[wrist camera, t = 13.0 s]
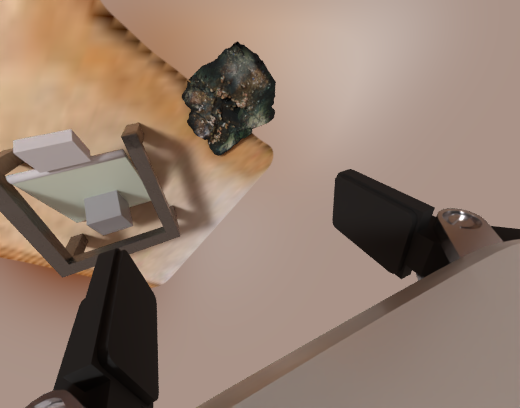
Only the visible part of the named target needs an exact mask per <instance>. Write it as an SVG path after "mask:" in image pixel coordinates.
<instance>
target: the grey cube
mask: <svg viewBox="0 0 520 408" xmlns="http://www.w3.org/2000/svg"><path fill="white" fill-rule="evenodd" d="M84 204H85V213H86V221H87V225H88V226H89V227H91V228H92V229H94V230H96V231H97V232H99V233H100V234H102V235H106V234H109V233H112V232H115V231H119V230H122V229H125V228H128V227H131V226H133V222H132V218H131V213H130V208H129V203H128V202H127V201H126V200H125V199H124V198H123V197H122V196H121V195H120V193H119V192H118V191H117V190H115V191H111V192H108V193H104V194H100V195H96V196H93V197H89V198H85V199H84Z"/></svg>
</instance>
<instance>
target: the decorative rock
mask: <svg viewBox="0 0 520 408" xmlns="http://www.w3.org/2000/svg"><path fill="white" fill-rule="evenodd" d="M189 81H190V82H191V83H190V82H188V81H187V82H188V83H187V88H186V90H185V91H184V93H183V94H182V99H183V100H184V101H185V104H186V105H187V106H188V107H189V108H190V109H191V112H190V113H189V119H188V120H187V123H188V125H189V126H190V127H191V128H192V129H193V131H194V133H195V134H196V135H197V136H199V137H201V138H203V139H204V140H206V139H208V144H209V147H210V149H211V150H212V151H213V153H214V154H215V155H222V154H224V153H225V152H227V151H228V150H230V149H231V148H232V147H233V146H234V145H235V144H237V143H238V142H239V141H240V140H241V139H242V138H246V137H247V136H249V135H250V134H251V133H252V129H253V128H256V127H258V126H261V125H263V124H266V123H268V122H270V121H271V120H272V119H273V118H274V114H275V110H274V109H273V108H272V105H273V104H274V97H275V83H276V82H275V80H274V79H273V78H272V76H271V74H270V73H269V71H268V70H267V68H266V66H265V64H264V63H263V61H261V60H260V58H259V56H258V55H257V54H256V53H253V52H252V51H251V50H249V49H248V48H247V47H245V45H241V44H240V43H239V42H236V43H234V44H233V46H232V47H230V48H228V49H225V50H224V51H223V52H222V54H221V55H219V56H218V58H217V59H215V61H213V62H211V63H208V64H207V65H204V66H202V67H201V68H200V69H199V70H198V71H197V72H196V73H195V74H194V75H193V76H192V77H191V78H190V79H189Z"/></svg>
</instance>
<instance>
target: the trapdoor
mask: <svg viewBox="0 0 520 408" xmlns="http://www.w3.org/2000/svg"><path fill="white" fill-rule="evenodd" d="M13 153H14V154H15V155H16V156H18V157H19V158H20V159H22V160H23V161H24V162H26V163H27V164H29V165H30V166H31V167H33V168H34V169H33V170H29V171H25V172H20V173H16V174H12V175H7V176H6V180H7V181H8V182H9V183H10V184H13V185H14V186H16V187H18V188H20V189H21V190H23V191H25V192H26V193H28V194H30V195H31V196H33V197H35V198H36V199H38V200H40V201H41V202H43V203H45V204H46V205H48V206H50V207H51V208H53V209H55V210H57V211H58V212H60V213H62V214H63V215H65V216H67V217H68V218H70V219H72V220H73V221H75V222H77V223H78V222H81V221H85V220H86V213H85V204H84V199H85V198H89V197H93V196H96V195H100V194H104V193H108V192H111V191H115V190H117V191H118V192H119V193H120V195H121V196H122V197H123V198H124V199H125V200H126V201H127V202H128V203H129V207H132V206H135V205H139V204H142V203H145V202H149V201H151V199H150V197H149V195H148V193H147V191H146V189H145V187H144V184H143V182H142V180H141V178H140V176H139V174H138V172H137V170H136V168H135V167H134V165H133V164H132V162H131V161H130V159H129V158H128V156H127V155H126V153H125V152H124V150H123V149H120V150H116V151H112V152H107V153H103V154H99V155H94V156H90V150H89V149H88V148H87V147H86V146H85V144H84V143H83V142H82V141H81V140H80V139H79V138H78V136H77V135H76V134H75V133H74V132H73V131H72V130H71V129H69V130H64V131H59V132H54V133H49V134H44V135H39V136H34V137H29V138H24V139H18V140H13Z"/></svg>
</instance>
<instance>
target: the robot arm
mask: <svg viewBox="0 0 520 408" xmlns="http://www.w3.org/2000/svg"><path fill="white" fill-rule="evenodd" d="M433 211H434V207H432V206H430V205H428V204H426V203H424V202H421V201H419V200H417V199H415V198H413V197H411V196H408V195H406V194H404V193H402V192H400V191H397V190H396V189H393V188H391V187H389V186H387V185H385V184H383V183H380V182H378V181H376V180H374V179H372V178H370V177H367V176H365V175H363V174H361V173H359V172H357V171H354V170H352V169H349V170H345V171H343V172H340V173H338V175H337V177H336V178H335V190H334V206H333V225H334V227H335V228H336V229H338V230H339V231H340V232H341V233H342V234H344V235H345V236H346V237H347V238H348V239H350V240H351V241H352V242H353V243H355V244H356V245H357V246H358V247H359V248H361V249H362V250H363V251H364V252H366V253H367V254H368V255H369V256H370V257H372V258H373V259H374V260H375V261H377V262H378V263H379V264H380V265H381V266H383V267H384V268H385V269H386V270H387V271H389V272H390V273H392V274H395V275H397V276H398V277H399V278H401V279H402V278H404V277H406V276H408V275H410V274H411V271H412V270H413V271H414V272H416V275H417V278H418V281H417V282H416V283H414V284H412V285H410V286H408V287H407V288H405V289H403V290H401V291H400V292H397V293H396V294H394V295H392V296H390V297H388V298H387V299H385V300H383V301H381V302H380V303H378V304H376V305H374V306H372V307H371V308H369V309H367V310H366V311H364V312H362V313H360V314H358V315H357V316H355V317H353V318H351V319H349V320H348V321H346V322H344V323H342V324H341V325H339V326H337V327H335V328H333V329H332V330H330V331H328V332H326V333H325V334H323V335H321V336H319V337H318V338H316V339H314V340H312V341H310V342H309V343H307V344H305V345H303V346H302V347H300V348H298V349H297V350H295V351H293V352H291V353H290V354H288V355H286V356H284V357H283V358H281V359H279V360H277V361H275V362H274V363H272V364H270V365H268V366H267V367H265V368H263V369H261V370H260V371H258V372H256V373H255V374H253V375H251V376H249V377H247V378H246V379H244V380H242V381H240V382H239V383H237V384H235V385H233V386H232V387H230V388H228V389H227V390H225V391H223V392H222V393H220V394H218V395H216V396H215V397H213V398H211V399H210V400H208V401H206V402H205V403H203V404H201V405H200V406H198V407H196V408H520V229H513V228H504V227H494V226H490V225H489V224H488V223H487V221H486V220H484V219H483V218H482V217H480V216H479V215H477V214H475V213H472V212H470V211H466V210H462V209H455V208H447V209H443V210H441V211H439V212H438V214H437V217H434V216H432V214H433ZM158 388H159V386H158V344H157V303H156V298H155V295H154V293H153V292H152V290H151V288H150V287H149V285H148V284H147V282H146V280H145V279H144V277H143V276H142V274H141V272H140V271H139V269H138V268H137V266H136V265H135V263H134V261H133V260H132V258H131V257H130V255H129V254H128V252H127V251H126V250H120V249H119V248H115V249H112V250H109V251H106V252H103V253H100V254H99V255H98V258H97V261H96V264H95V268H94V271H93V274H92V278H91V281H90V285H89V288H88V292H87V295H86V298H85V299H84V300H83V301H82V302H81V304H80V306H79V309H78V312H77V316H76V319H75V322H74V325H73V328H72V332H71V335H70V338H69V341H68V345H67V348H66V351H65V354H64V357H63V360H62V364H61V367H60V370H59V373H58V376H57V379H56V383H55V386H54V389H53V391H51V392H48V393H46V394H43V395H42V396H40V397H39V398H37V399H36V400H34V401H32V402H31V403H30V404H29V405H28V406H26V407H25V408H153V402H154V401H156V400H157V399H158V395H159V394H158V393H159V389H158Z"/></svg>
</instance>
